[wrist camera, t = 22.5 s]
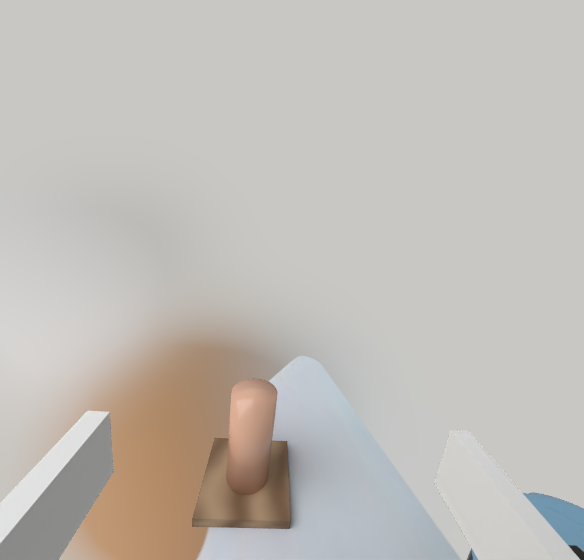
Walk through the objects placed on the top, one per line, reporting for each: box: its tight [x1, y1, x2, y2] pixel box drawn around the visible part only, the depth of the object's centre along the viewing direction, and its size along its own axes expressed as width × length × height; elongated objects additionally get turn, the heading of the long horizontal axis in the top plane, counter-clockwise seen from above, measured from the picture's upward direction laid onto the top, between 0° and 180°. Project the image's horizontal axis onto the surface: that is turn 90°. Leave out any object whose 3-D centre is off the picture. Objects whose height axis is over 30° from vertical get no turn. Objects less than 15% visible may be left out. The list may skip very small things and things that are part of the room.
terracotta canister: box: [226, 378, 277, 495], centre depth 44 cm, size 7×7×16 cm
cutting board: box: [192, 438, 291, 529], centre depth 46 cm, size 14×14×2 cm
